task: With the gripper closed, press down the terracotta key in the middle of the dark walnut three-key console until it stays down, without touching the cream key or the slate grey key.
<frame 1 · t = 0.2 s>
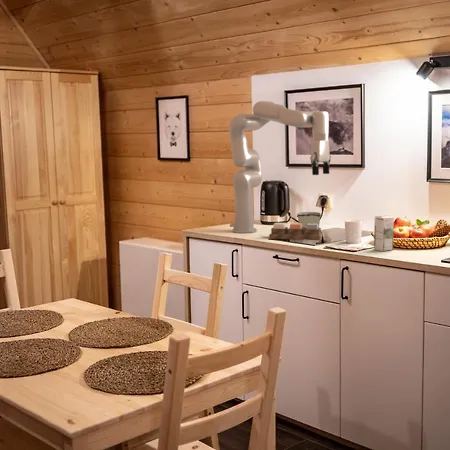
hand: (320, 174, 326), 30 cm above the table, tool pointing down, fingers open, 9 cm apart
food container: (308, 232, 350), on the table
slate key: (312, 227, 328), point 5 cm above the table, slide at 0.0 cm
key console: (296, 237, 331), on the table
white cup: (353, 242, 314), on the table
syrup box: (383, 250, 292), on the table
terracotta key: (296, 227, 330), point 5 cm above the table, slide at 0.0 cm
cream key: (279, 226, 333), point 5 cm above the table, slide at 0.0 cm
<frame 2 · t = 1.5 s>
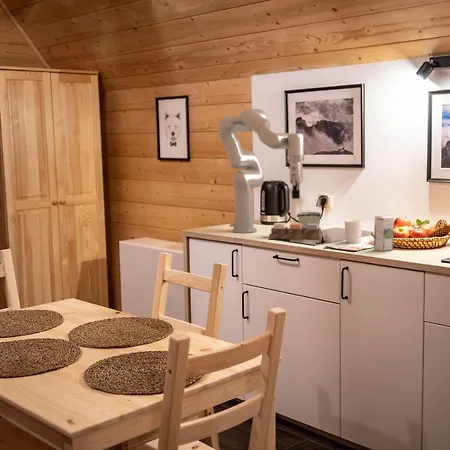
hand: (295, 198, 329), 19 cm above the table, tool pointing down, fingers closed
nothing on the table moved.
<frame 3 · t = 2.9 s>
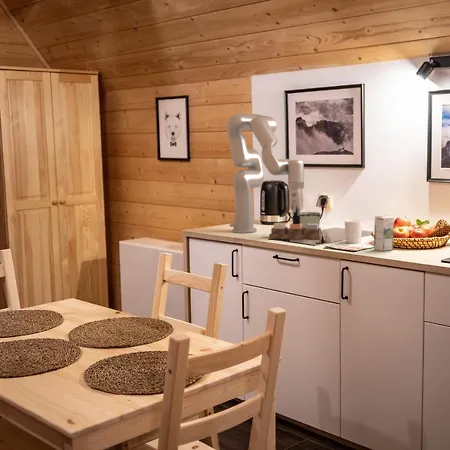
hand: (296, 223, 330), 7 cm above the table, tool pointing down, fingers closed
terracotta key: (296, 227, 330), point 5 cm above the table, slide at -0.1 cm, touching gripper
everything else where it was.
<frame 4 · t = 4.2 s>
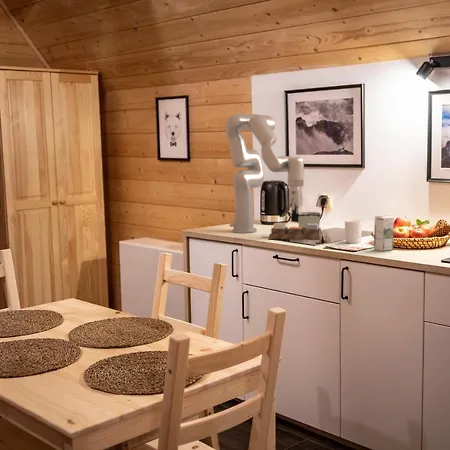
hand: (294, 221, 331), 8 cm above the table, tool pointing down, fingers closed
terracotta key: (296, 230, 331), point 4 cm above the table, slide at -1.7 cm
everything else where it was.
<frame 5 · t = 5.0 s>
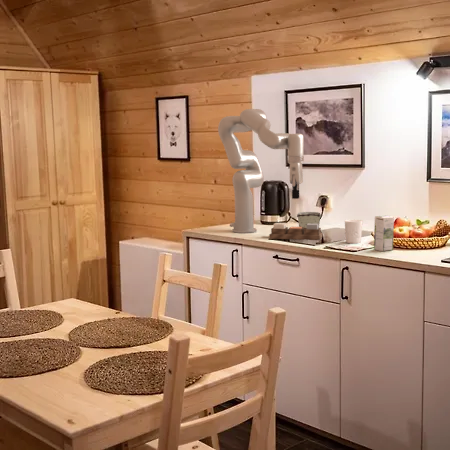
hand: (295, 198, 329), 19 cm above the table, tool pointing down, fingers closed
nothing on the table moved.
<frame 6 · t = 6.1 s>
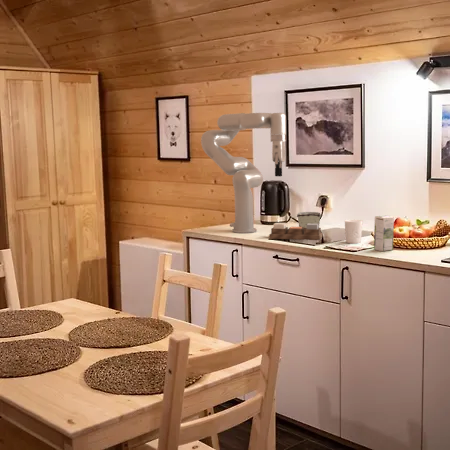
hand: (278, 176, 338), 29 cm above the table, tool pointing down, fingers closed
nothing on the table moved.
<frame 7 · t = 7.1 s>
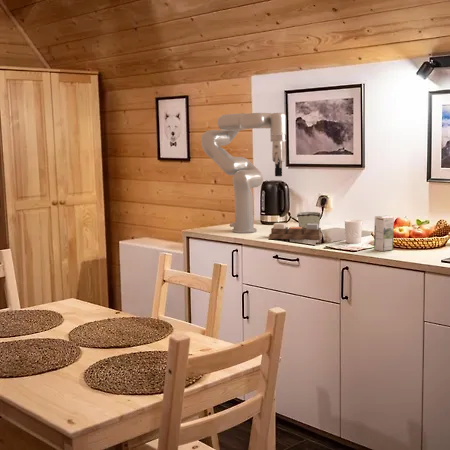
hand: (278, 176, 338), 29 cm above the table, tool pointing down, fingers closed
nothing on the table moved.
at the end: terracotta key slide at -1.7 cm; cream key slide at 0.0 cm; slate key slide at 0.0 cm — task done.
